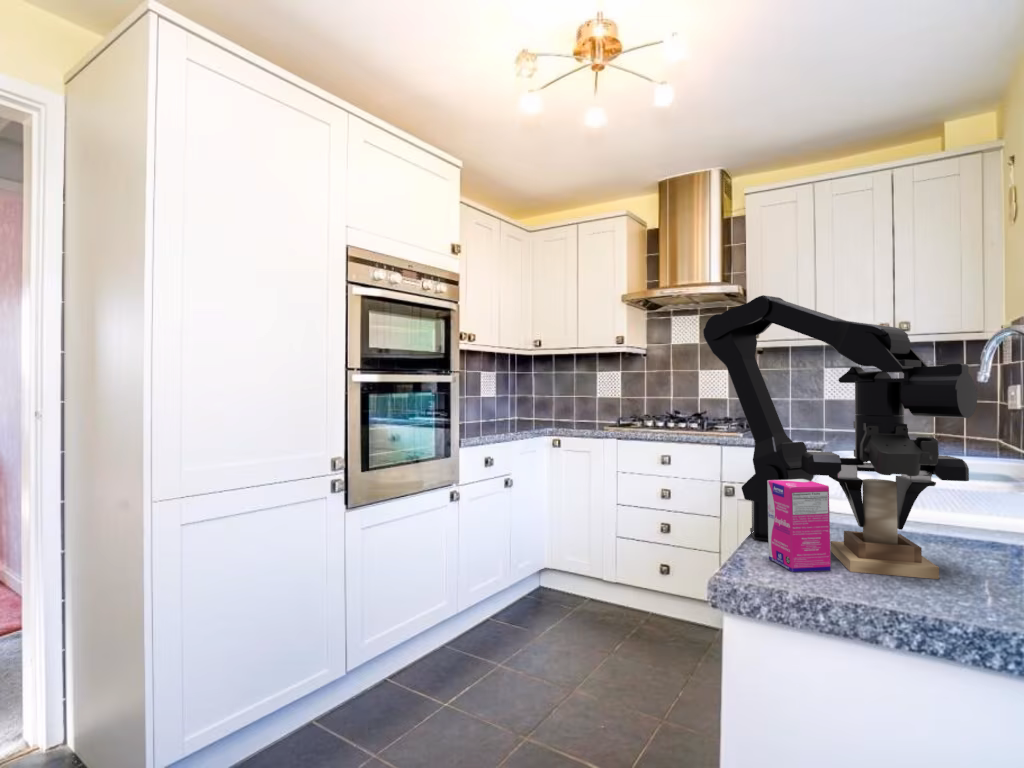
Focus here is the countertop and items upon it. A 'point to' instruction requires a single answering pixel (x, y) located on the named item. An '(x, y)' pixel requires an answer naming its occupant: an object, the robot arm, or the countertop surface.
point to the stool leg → (880, 511)
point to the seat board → (883, 557)
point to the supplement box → (799, 525)
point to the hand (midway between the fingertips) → (880, 527)
